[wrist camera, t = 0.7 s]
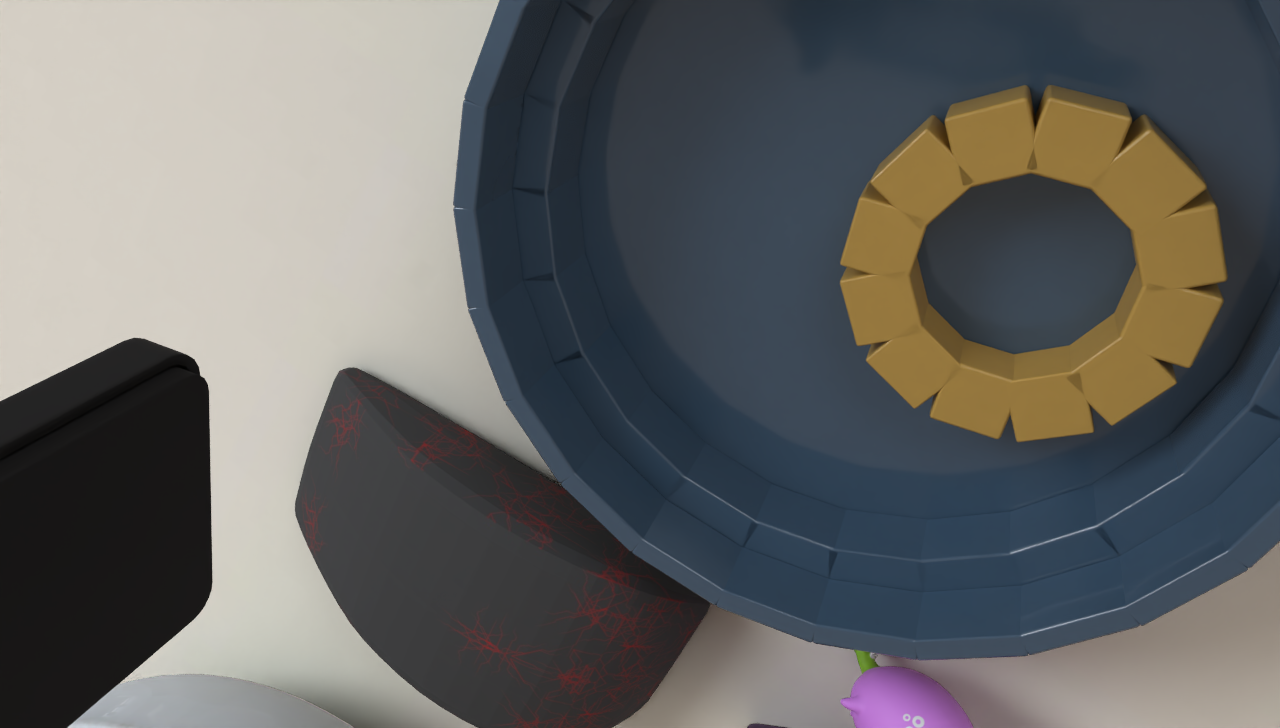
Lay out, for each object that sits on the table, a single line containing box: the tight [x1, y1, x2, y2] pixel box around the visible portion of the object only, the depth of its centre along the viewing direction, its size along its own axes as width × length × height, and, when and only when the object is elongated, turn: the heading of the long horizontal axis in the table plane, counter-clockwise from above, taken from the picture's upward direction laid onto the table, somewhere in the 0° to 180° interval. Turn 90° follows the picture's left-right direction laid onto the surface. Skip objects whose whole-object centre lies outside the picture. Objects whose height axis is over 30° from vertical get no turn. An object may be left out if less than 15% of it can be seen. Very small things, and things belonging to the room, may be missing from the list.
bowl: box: [453, 0, 1280, 660], centre depth 23 cm, size 19×19×4 cm
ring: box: [840, 85, 1228, 442], centre depth 23 cm, size 8×8×2 cm
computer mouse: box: [295, 368, 710, 728], centre depth 32 cm, size 8×14×4 cm, turn 65°
